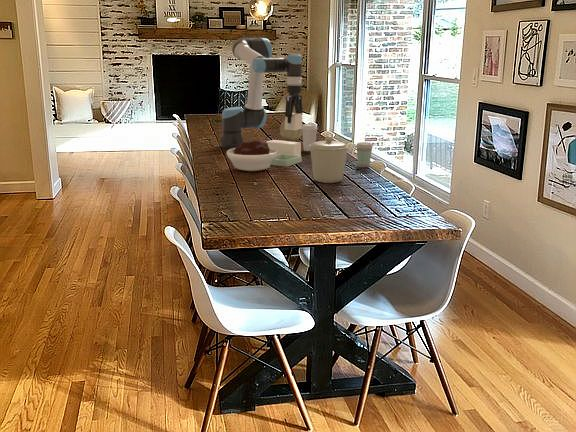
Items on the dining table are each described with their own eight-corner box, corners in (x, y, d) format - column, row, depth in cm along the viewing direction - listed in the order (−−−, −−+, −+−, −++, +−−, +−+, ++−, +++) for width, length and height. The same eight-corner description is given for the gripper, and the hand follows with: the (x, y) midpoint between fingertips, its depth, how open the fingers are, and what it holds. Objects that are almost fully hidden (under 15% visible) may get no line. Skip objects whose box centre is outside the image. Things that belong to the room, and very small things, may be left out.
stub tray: (266, 164, 328) (266, 158, 327) (281, 159, 341) (281, 153, 340) (286, 166, 322) (286, 160, 321) (301, 161, 335) (301, 156, 334)
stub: (284, 129, 331) (285, 114, 328) (292, 127, 337) (292, 112, 335) (295, 130, 328) (295, 114, 326) (301, 128, 335) (302, 113, 333)
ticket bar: (265, 155, 351) (265, 141, 349) (273, 153, 358) (273, 139, 356) (293, 159, 343) (293, 144, 340) (300, 156, 349) (300, 142, 347)
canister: (336, 187, 278) (337, 139, 272) (301, 182, 287) (301, 136, 281) (354, 180, 292) (355, 134, 287) (320, 175, 302) (321, 131, 296)
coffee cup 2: (373, 165, 326) (374, 142, 323) (369, 168, 319) (370, 145, 315) (357, 164, 329) (358, 141, 326) (353, 167, 321) (354, 144, 318)
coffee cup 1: (315, 152, 364) (316, 126, 360) (299, 151, 366) (300, 125, 362) (318, 149, 373) (318, 124, 369) (302, 148, 375) (302, 123, 371)
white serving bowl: (238, 176, 297) (238, 145, 293) (219, 167, 318) (218, 138, 314) (285, 172, 308) (285, 141, 304) (263, 163, 330) (263, 135, 325)
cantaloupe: (276, 142, 398) (276, 118, 394) (284, 139, 412) (285, 116, 407) (297, 143, 393) (298, 119, 389) (306, 140, 406) (306, 117, 402)
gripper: (291, 86, 316) (290, 131, 322) (309, 84, 333) (309, 126, 340) (278, 85, 319) (278, 130, 325) (297, 83, 337) (296, 125, 343)
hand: (293, 128), depth 332 cm, fingers closed on stub, 8 cm apart
